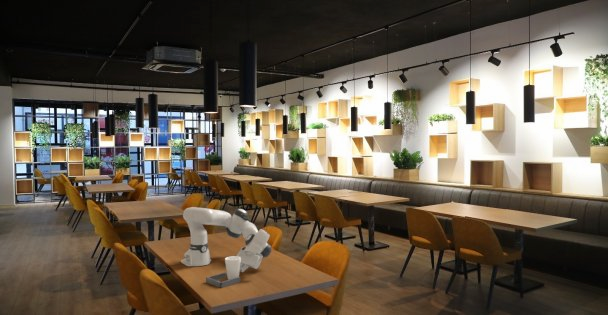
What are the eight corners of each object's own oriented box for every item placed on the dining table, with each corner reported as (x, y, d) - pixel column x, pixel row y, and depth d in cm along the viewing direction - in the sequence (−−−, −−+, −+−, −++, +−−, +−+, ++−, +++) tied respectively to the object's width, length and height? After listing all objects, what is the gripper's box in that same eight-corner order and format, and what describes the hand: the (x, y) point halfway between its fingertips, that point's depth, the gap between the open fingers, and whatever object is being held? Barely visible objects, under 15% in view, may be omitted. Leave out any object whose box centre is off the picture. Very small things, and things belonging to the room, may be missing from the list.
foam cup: (229, 282, 246) (228, 261, 245) (222, 278, 253) (222, 257, 253) (243, 279, 251) (243, 258, 251) (237, 276, 259) (236, 255, 258)
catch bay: (206, 282, 247) (206, 277, 247) (225, 276, 257) (225, 272, 257) (220, 287, 237) (220, 282, 237) (240, 282, 247) (240, 277, 247)
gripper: (266, 257, 257) (255, 277, 250) (245, 252, 271) (234, 270, 264) (260, 252, 253) (249, 272, 246) (239, 247, 267) (228, 265, 260)
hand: (241, 271), depth 255 cm, fingers closed, pressing on foam cup
